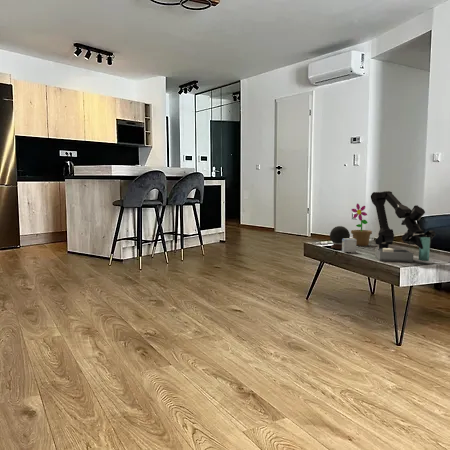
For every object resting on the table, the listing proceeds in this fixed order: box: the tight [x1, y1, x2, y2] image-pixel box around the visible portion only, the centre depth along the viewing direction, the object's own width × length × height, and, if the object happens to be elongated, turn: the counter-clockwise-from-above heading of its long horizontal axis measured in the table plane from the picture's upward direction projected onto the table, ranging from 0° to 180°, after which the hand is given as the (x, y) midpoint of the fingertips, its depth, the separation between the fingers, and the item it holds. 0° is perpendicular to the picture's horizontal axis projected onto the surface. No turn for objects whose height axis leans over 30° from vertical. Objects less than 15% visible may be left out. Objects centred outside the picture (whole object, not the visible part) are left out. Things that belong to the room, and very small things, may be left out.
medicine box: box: [341, 237, 357, 254], centre depth 266 cm, size 8×4×9 cm, turn 92°
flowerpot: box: [350, 203, 373, 247], centre depth 301 cm, size 14×14×30 cm
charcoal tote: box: [374, 248, 414, 263], centre depth 239 cm, size 14×18×5 cm
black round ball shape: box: [329, 225, 351, 250], centre depth 285 cm, size 13×13×15 cm
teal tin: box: [418, 237, 431, 262], centre depth 226 cm, size 5×5×12 cm
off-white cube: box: [382, 247, 395, 252], centre depth 239 cm, size 5×5×5 cm
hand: (426, 248), depth 225 cm, fingers closed on teal tin, 5 cm apart
